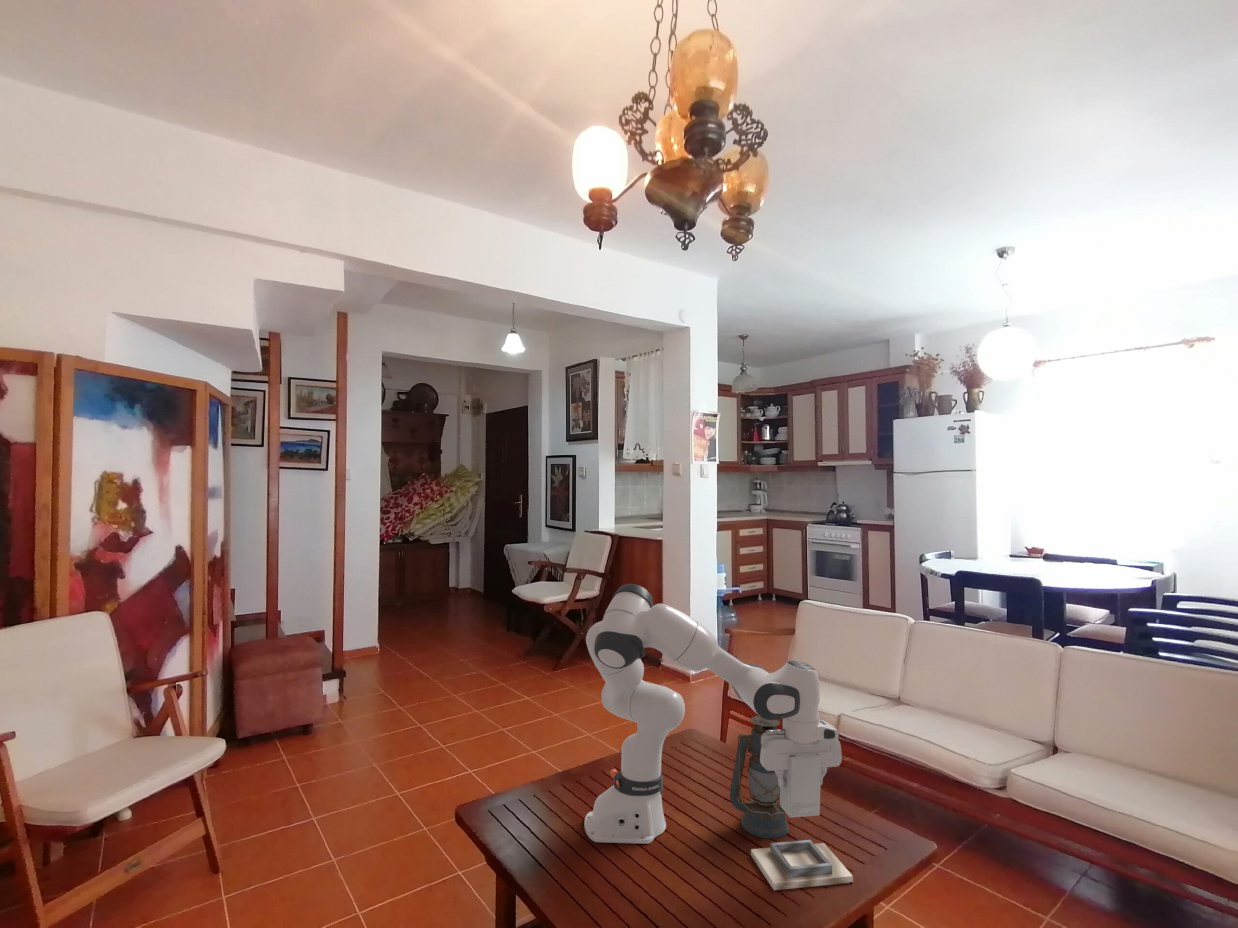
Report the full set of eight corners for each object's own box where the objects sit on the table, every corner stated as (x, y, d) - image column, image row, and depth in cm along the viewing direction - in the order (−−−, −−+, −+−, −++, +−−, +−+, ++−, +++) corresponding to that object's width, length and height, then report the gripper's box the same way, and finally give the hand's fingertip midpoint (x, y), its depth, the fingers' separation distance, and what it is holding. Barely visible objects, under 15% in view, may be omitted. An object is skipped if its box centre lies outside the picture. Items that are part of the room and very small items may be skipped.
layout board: (773, 890, 146) (773, 874, 146) (750, 855, 160) (751, 841, 160) (852, 882, 149) (852, 867, 150) (823, 848, 163) (823, 834, 163)
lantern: (792, 813, 180) (793, 708, 181) (808, 842, 166) (809, 727, 167) (725, 813, 180) (726, 707, 181) (735, 841, 166) (736, 726, 167)
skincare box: (808, 804, 159) (811, 744, 159) (820, 817, 153) (823, 755, 153) (777, 805, 157) (780, 745, 158) (788, 818, 151) (791, 756, 152)
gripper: (766, 735, 151) (765, 793, 150) (845, 731, 154) (844, 788, 154) (756, 725, 157) (755, 781, 156) (832, 721, 160) (831, 776, 160)
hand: (800, 784), depth 155 cm, fingers closed on skincare box, 8 cm apart
